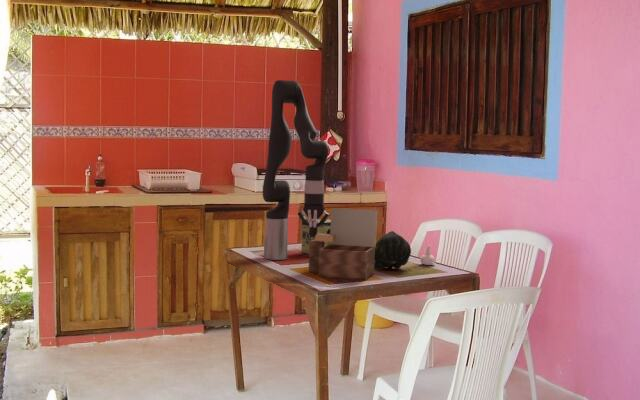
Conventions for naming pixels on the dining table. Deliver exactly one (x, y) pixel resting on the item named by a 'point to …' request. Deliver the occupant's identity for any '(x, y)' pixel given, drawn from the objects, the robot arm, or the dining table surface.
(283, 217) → the robot arm
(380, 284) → the dining table surface
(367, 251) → the box
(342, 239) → the lid
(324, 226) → the protein box
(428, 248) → the garlic bulb
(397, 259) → the squash
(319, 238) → the latch bolt
